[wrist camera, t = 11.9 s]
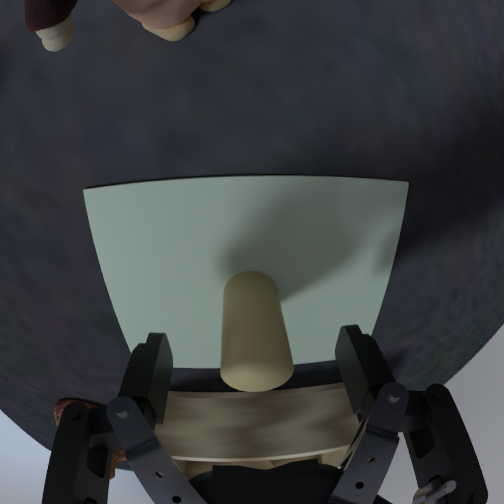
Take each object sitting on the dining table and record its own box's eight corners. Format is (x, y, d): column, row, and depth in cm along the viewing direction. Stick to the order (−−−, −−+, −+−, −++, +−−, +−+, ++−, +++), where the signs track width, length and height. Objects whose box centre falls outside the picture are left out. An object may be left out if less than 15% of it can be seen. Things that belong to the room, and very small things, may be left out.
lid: (401, 178, 14) (477, 222, 8) (360, 348, 20) (388, 413, 14) (89, 185, 13) (18, 234, 7) (138, 357, 19) (119, 427, 13)
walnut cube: (264, 427, 23) (267, 458, 19) (272, 439, 24) (275, 467, 21) (229, 432, 23) (229, 462, 20) (239, 443, 24) (241, 471, 21)
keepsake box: (345, 381, 21) (364, 441, 15) (320, 437, 26) (329, 480, 21) (153, 389, 20) (141, 452, 15) (181, 443, 26) (178, 487, 20)
